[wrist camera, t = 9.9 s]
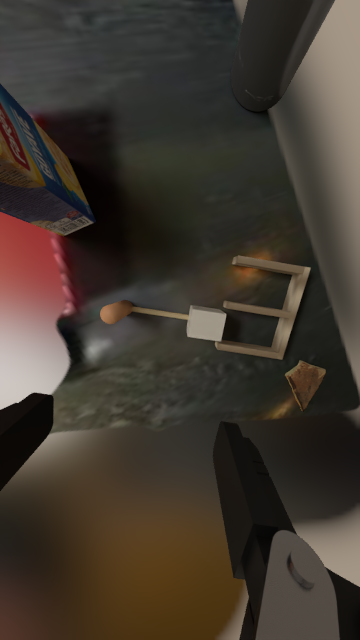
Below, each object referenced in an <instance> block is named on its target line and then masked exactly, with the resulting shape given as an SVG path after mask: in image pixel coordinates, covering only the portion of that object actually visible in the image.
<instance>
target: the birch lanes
mask: <svg viewBox="0 0 360 640" xmlns="http://www.w3.org/2000/svg"><path fill="white" fill-rule="evenodd" d="M232 264H233V265H239V266H244V267H250V268H256V269H262V270H268V271H274V272H280V273H285V274H291V275H292V278H291V281H290V285H289V288H288V292H287V295H286V299H285V302H284V305H283V309H282V310H280V309H274V308H268V307H262V306H256V305H250V304H243V303H237V302H231V301H225V300H224V304H223V307H225V308H227V309H234V310H240V311H246V312H252V313H258V314H264V315H270V316H276V317H280V319H279V323H278V326H277V329H276V333H275V336H274V340H273V343H272V346H271V347H265V346H259V345H252V344H246V343H240V342H233V341H227V340H221V341H215V346H216V347H217V349H218V350H225V351H231V352H237V353H244V354H250V355H257V356H263V357H269V358H276V359H282V358H283V355H284V352H285V349H286V346H287V342H288V339H289V336H290V333H291V329H292V326H293V323H294V320H295V317H296V313H297V310H298V307H299V304H300V301H301V297H302V294H303V291H304V288H305V285H306V281H307V278H308V275H309V272H310V269H311V268H308V267H302V266H296V265H290V264H285V263H279V262H273V261H267V260H261V259H256V258H250V257H244V256H236V257H234V258H233V262H232Z"/></svg>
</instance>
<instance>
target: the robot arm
mask: <svg viewBox="0 0 360 640" xmlns="http://www.w3.org/2000/svg"><path fill="white" fill-rule="evenodd" d="M334 1H335V0H248V2H247V7H246V11H245V15H244V19H243V23H242V28H241V31H240V36H239V40H238V44H237V48H236V53H235V57H234V61H233V65H232V71H231V85H232V90H233V93H234V95H235V97H236V99H237V101H238V102H239V103H240V104H241V105H242V106H243V107H245V108H246V109H248V110H251V111H258V112H259V111H264V110H267V109H269V108H271V107H272V106H274V105H275V104H276V103H277V102H278V101H279V100H280V99H281V98H282V96H283V94H284V93H285V91H286V89H287V87H288V85H289V84H290V82H291V80H292V78H293V76H294V74H295V73H296V70H297V69H298V67H299V65H300V64H301V62H302V60H303V58H304V56H305V54H306V53H307V51H308V49H309V47H310V45H311V43H312V42H313V40H314V38H315V36H316V34H317V32H318V31H319V29H320V27H321V25H322V23H323V21H324V20H325V18H326V16H327V14H328V12H329V10H330V8H331V7H332V5H333V3H334ZM53 403H54V399H53V396H52V395H47V394H41V393H32V394H30V395H29V396H27V397H26V398H25V399H24V400H22V401H21V402H19V403H15V404H12V405H10V406H8V407H6V408H4V409H1V410H0V491H1V490H2V488H3V487H4V486H5V485H6V484H7V483H8V481H9V480H10V479H11V478H12V477H13V476H14V475H15V473H16V472H17V471H18V470H19V469H20V468H21V467H22V465H23V464H24V463H25V462H26V461H27V460H28V458H29V457H30V456H31V455H32V454H33V453H34V451H35V450H36V449H37V448H38V447H39V446H40V445H41V443H42V442H43V441H44V440H45V439H46V438H47V436H48V435H49V433H50V431H51V429H52V426H53ZM213 463H214V469H215V475H216V480H217V486H218V492H219V497H220V503H221V509H222V514H223V520H224V526H225V532H226V537H227V543H228V549H229V554H230V560H231V565H232V571H233V577H234V578H237V579H245V581H246V585H247V590H248V595H249V599H248V603H247V606H246V611H245V616H244V620H243V625H242V629H241V634H240V639H239V640H360V587H359V586H357V585H355V584H353V583H351V582H350V581H348V580H346V579H344V578H343V577H341V576H339V575H337V574H335V573H334V572H332V571H331V570H329V569H328V568H326V567H325V566H324V564H323V563H322V561H321V560H320V558H319V557H318V555H317V554H316V553H315V551H314V550H313V549H312V548H311V547H310V546H309V545H308V544H307V543H306V542H305V541H304V540H303V539H302V538H300V537H299V536H298V535H297V534H296V532H295V530H294V528H293V526H292V523H291V521H290V519H289V517H288V515H287V512H286V510H285V508H284V506H283V504H282V501H281V499H280V497H279V495H278V493H277V490H276V488H275V486H274V484H273V481H272V479H271V477H269V473H268V470H267V468H266V466H265V465H264V462H263V459H262V457H261V455H260V453H259V451H258V449H257V448H256V446H255V445H254V444H253V443H252V442H251V440H250V439H249V438H244V437H243V436H242V433H241V431H240V428H239V426H238V425H237V424H236V423H229V422H223V421H221V422H220V424H219V428H218V432H217V436H216V440H215V443H214V448H213Z"/></svg>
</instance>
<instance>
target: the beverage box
mask: <svg viewBox="0 0 360 640" xmlns="http://www.w3.org/2000/svg"><path fill="white" fill-rule="evenodd" d="M0 212H3V213H5V214H8V215H10V216H13V217H16V218H18V219H21V220H23V221H26V222H28V223H31V224H34V225H36V226H39V227H41V228H44V229H46V230H49V231H52V232H54V233H57V234H59V235H62V236H65V235H67V234H70V233H72V232H74V231H76V230H79V229H81V228H83V227H85V226H88V225H90V224H92V223H94V222H96V220H95V218H94V216H93V213H92V211H91V209H90V207H89V204H88V202H87V200H86V198H85V195H84V193H83V191H82V189H81V186H80V184H79V182H78V180H77V177H76V175H75V173H74V171H73V168H72V166H71V164H70V162H69V159H68V157H67V156H66V155H65V154H64V153H63V152H62V151H61V150H60V148H59V147H58V146H57V145H56V144H55V143H54V142H53V141H52V140H51V139H50V138H49V136H48V135H47V134H46V133H45V132H44V131H43V130H42V129H41V128H40V127H39V126H38V124H37V123H36V122H35V121H34V120H33V119H32V118H31V117H30V116H29V115H28V114H27V112H26V111H25V110H24V109H23V108H22V107H21V106H20V105H19V104H18V103H17V101H16V100H15V99H14V98H13V97H12V96H11V95H10V94H9V93H8V92H7V91H6V89H5V88H4V87H3V86H2V85H1V84H0Z"/></svg>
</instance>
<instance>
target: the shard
mask: <svg viewBox="0 0 360 640" xmlns="http://www.w3.org/2000/svg"><path fill="white" fill-rule="evenodd" d="M325 373H326V371H325V369H323V368H320V367H317V366H314V365H311V364H308V363H306V362H303V361H302V360H300V361H299V363H298V365H297V366H296V367H294V368H293V369H292V370H290V371H289V372H287V373H286V374H285V376H286V378H287V379H288V381H289V384H290V386H291V387H292V390H293V393H294V396H295V398H296V400H297V402H298V403H299V405H300V406H301V409H302V411H303V412H304V409H305V408H306V406H307V405H308V402H309V401H310V399H311V398H312V396H313V395H314V394H315V392H316V390H317V389H318V387H319V385H320V383H321V382H322V379H323V377H324V375H325Z"/></svg>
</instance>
